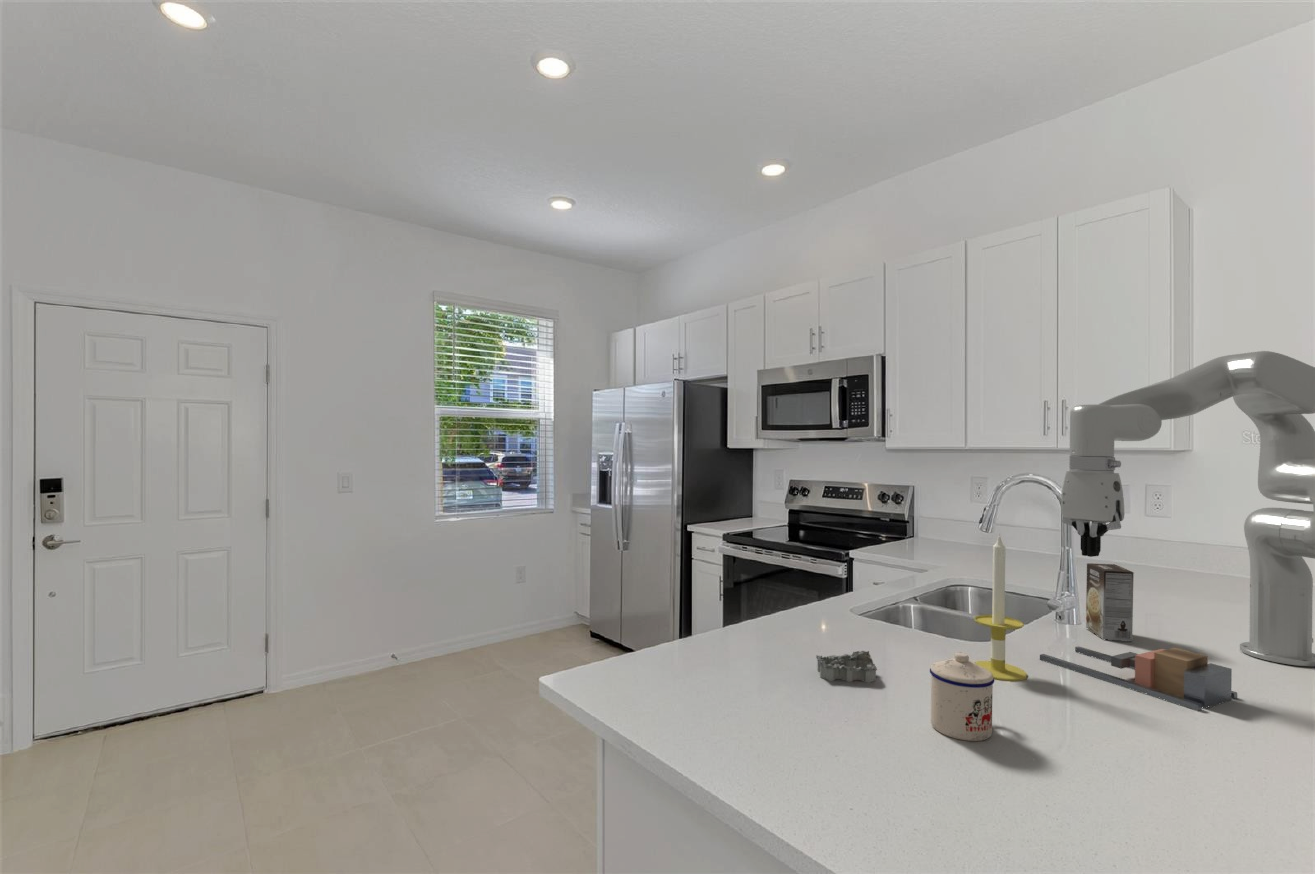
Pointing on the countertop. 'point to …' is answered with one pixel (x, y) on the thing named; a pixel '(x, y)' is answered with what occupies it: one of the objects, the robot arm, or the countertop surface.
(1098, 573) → the coffee box
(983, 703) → the teacup with lid
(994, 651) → the candle
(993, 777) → the countertop surface
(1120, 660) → the block
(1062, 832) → the countertop surface
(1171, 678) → the block
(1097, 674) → the vise bed
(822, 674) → the egg carton
